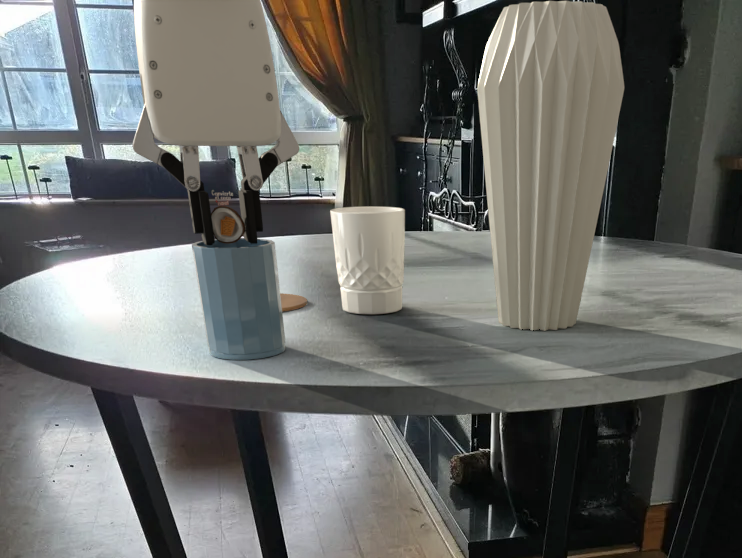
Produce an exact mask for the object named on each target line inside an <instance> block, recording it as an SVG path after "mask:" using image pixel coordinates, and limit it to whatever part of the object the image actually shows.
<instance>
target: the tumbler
mask: <svg viewBox="0 0 742 558" xmlns="http://www.w3.org/2000/svg"><path fill="white" fill-rule="evenodd" d="M214 240H215V243H213V245H205V243H204V242H203V240H200V241H196V242H194V243H191V249H192V255H193V261H194V262H193V263H194V267H195V268H194V269H195V274H196V280H197V287H198V292H199V299H200V306H201V313H202V318H203V324H204V331H205V338H206V343H207V344H206V345H207V347H208V352H209V355H211V356H212V357H214V358H217V359H221V360H228V361H229V360H232V361H247V360H250V361H251V360H259V359H265V358H271V357H274V356H277V355H280V354H283V353H284V352H285V351H286V333H285V326H284V317H283V312H282V306H281V296H280V293H281V287H280V279H279V270H278V261H277V250H276V242H275V241H274V240H271V239H266V238H257V240H258V243H257V244H251V243H250V242H248V241H246V240H245V239H244V237H241V238H240V240H238V241H237V242H235V243H230V244H226V243H221V242H219V241H218V240H217V239H216V238H214Z"/></svg>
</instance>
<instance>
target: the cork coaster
mask: <svg viewBox="0 0 742 558" xmlns="http://www.w3.org/2000/svg"><path fill="white" fill-rule="evenodd" d="M280 296H281V306H282V313H284V312H290V311H294V310H295V311H296V310H299V309H302V308H304V307H306V306H307V305H308V299H307V297H304V296H302V295H300V294H299V295H298V294H293V293H283V292H282V293H281V292H280Z"/></svg>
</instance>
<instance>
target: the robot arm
mask: <svg viewBox="0 0 742 558" xmlns="http://www.w3.org/2000/svg"><path fill="white" fill-rule="evenodd" d="M133 14H134V15H133V17H134V32H135V33H134V34H135V45H136V54H137V64H138V70H139V79H140V81H139V82H140V87H141V95H142V102H143V108H142V112H141V115H140V118H139V120H138V121H139V122H138V124H137V127H136V131H135V134H134V138H133V140H132V147H131V148H132V150H133V151H134V153H136V154H137V155H138V156H141V157H143V158H144V159H146V160H147V161H150V162H151V163H154V164H156V165H158V166H160V167H162V168H164V169H165V170H166V171H167V172H168V173H169V174H170V175H172V176H173V178H175V179H176V180H177V181H178V182H179V183H180V184H181V185H182V186H183V187H184V188H185V189H186V191H187V197H188V203H189V211H190V218H191V224H192V231H193V233H194V235H197V234H198V235H199V234H201V241H203V242H204V243H205V245H213V243H215V240H214V239H215V236H214V232H213V225H212V217H211V213H212V211H211V203H210V197H209V196H210V195H209V192H207V191H205V184H204V182H203V181H202V180H201V174H200V173H201V171H200V155H199V154H200V152H199V147H236V151H237V157H238V161H239V166H240V172H241V176H242V179H241V181H240V188H239V190H238V201H239V208H240V209H239V210H240V216H241V218H242V220H243V222H244V223H245V226H246V230H245V233H244V235H243V238H244V239H245V240H246V241H248V242H250V243H251V244H257V243H258V240H257V239H258V233H263V231H264V222H263V213H262V204H261V196H260V190H261V189H262V188H263V186H264V184H265V182H266V181H267V180H268V179H269V178H270V176H271V175H272V173H274V171H275V169H276V168H277V167H278V166H280V165H281V164H284V163H285V162H287V161H288V160H290V159H291V158H293V157H295V156H296V155H297V154H299V152H300V145H299V143H298V140H297V139H296V137H295V135H294V133H293V132H292V129H291V127H290V126H289V124H288V122H287V120H286V118H285V116H284V114H283V113H282V111H281V107H280V106H281V105H280V97H279V90H278V84H277V83H278V82H277V77H276V71H275V64H274V59H273V52H272V47H271V40H270V35H269V29H268V25H267V22H266V17H265V13H264V9H263V5H262V2H261V0H133ZM155 139H156V140H157V141H159V142H161V143H164V144H168V145H171V146H179V158H178V157H176V155H174V154H173V153H171V152H170V151H168V150H166V149H164V148H162V147H160V146H158V145H157V143H156V142H155ZM275 142H276V143H275ZM274 143H275V145H273V146H272V147H271V148H270V149H268V150H267V151H265V152H263V153H262V154H261V155H260V156H259V153H258V147H262V146H267V145H270V144H274Z"/></svg>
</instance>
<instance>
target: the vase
mask: <svg viewBox="0 0 742 558" xmlns="http://www.w3.org/2000/svg"><path fill="white" fill-rule="evenodd" d="M620 49H621V48H620V43H619V40H618V37H617V34H616V32H615V28H614V25H613V22H612V20H611V16H610V14H609V11H608V8H607V6H605V5H603V4H601V3H595V2H593V1H591V2H589V1H588V2H584V1H582V0H579V1H578V0H577V1H570V0H559V1H557V0H546V1H531V2H519V3H517V4H509V5H508V6H504V7H503V8H502V11H501V12H500V14H499V17H498V19H497V21H496V23H495V25H494V27H493V29H492V31H491V34H490V36H489V37H488V41H487V42H486V45H485V49H484V53H483V58H482V63H481V67H480V73H479V78H478V81H477V86H476V87H477V88H476V89H477V100H478V101H477V102H478V113H479V114H478V115H479V124H480V137H481V146H482V156H483V157H482V158H483V168H484V180H485V190H486V200H487V213H488V225H489V233H490V235H489V236H490V245H491V257H492V268H493V278H494V289H495V298H496V309H497V320H498V321H497V322H498V324H501V325H502V327H509V328H510V329H519V330H522V329H523V330H529V329H530V331H532V332H533V330H534V331H539V329H540V331H544V332H546V331H548V330H553V331H557V330H558V329H565V330H566V329H567V328H568V327H571V328H572V327H574V325H576V324H577V320H578V315H579V310H580V306H581V302H582V301H581V300H582V297H583V293H584V286H585V282H586V277H587V273H588V268H589V262H590V259H591V258H590V257H591V253H592V248H593V243H594V239H595V233H596V228H597V224H598V219H599V214H600V209H601V204H602V200H603V194H604V190H605V186H606V180H607V176H608V170H609V167H610V161H611V157H612V156H611V155H612V151H613V146H614V141H615V136H616V131H617V127H618V122H619V116H620V111H621V108H622V102H623V99H624V98H623V97H624V93H625V81H624V80H625V79H624V73H623V64H622V58H621V50H620Z"/></svg>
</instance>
